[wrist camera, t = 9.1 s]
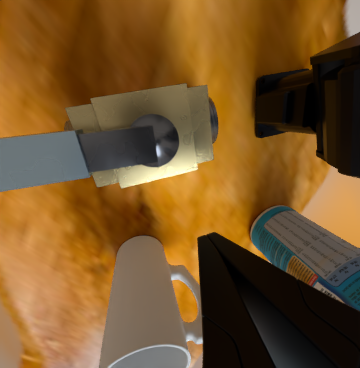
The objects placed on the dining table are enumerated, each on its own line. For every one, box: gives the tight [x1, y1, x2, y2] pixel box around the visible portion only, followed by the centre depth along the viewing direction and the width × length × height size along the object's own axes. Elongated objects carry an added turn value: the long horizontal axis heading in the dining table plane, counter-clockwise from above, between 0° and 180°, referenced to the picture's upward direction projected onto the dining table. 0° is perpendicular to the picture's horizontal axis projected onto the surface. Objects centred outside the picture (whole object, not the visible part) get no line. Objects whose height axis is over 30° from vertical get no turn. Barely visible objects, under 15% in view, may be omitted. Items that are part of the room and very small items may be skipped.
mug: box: [99, 236, 203, 368], centre depth 18 cm, size 10×7×12 cm, turn 81°
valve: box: [64, 83, 218, 188], centre depth 15 cm, size 12×6×6 cm, turn 100°
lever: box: [0, 114, 179, 192], centre depth 10 cm, size 3×11×2 cm, turn 96°
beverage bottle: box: [250, 205, 360, 311], centre depth 18 cm, size 8×8×20 cm
